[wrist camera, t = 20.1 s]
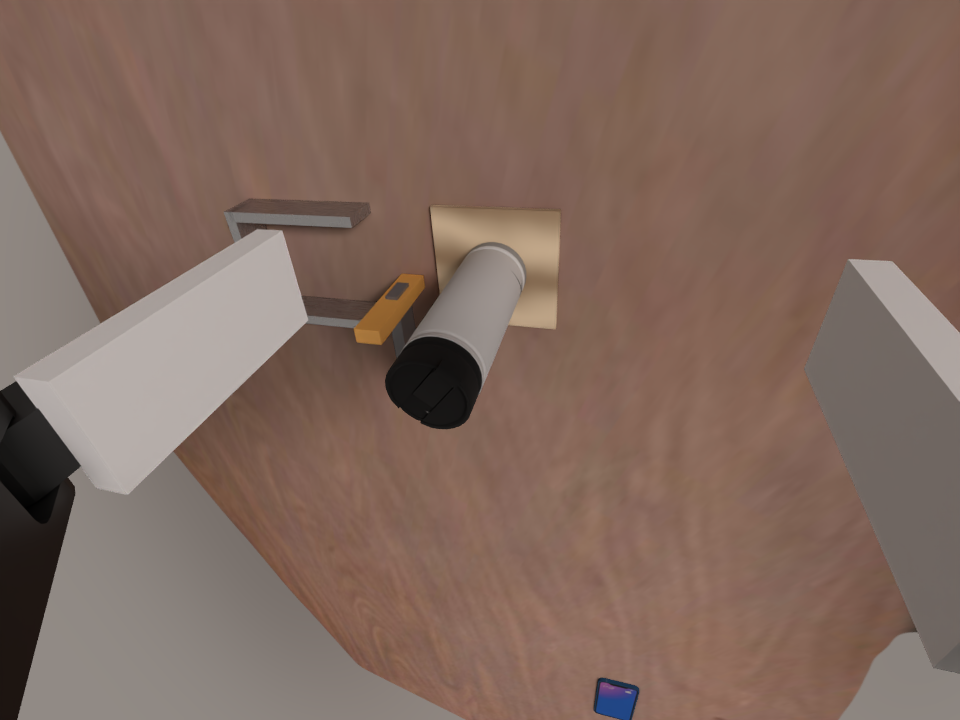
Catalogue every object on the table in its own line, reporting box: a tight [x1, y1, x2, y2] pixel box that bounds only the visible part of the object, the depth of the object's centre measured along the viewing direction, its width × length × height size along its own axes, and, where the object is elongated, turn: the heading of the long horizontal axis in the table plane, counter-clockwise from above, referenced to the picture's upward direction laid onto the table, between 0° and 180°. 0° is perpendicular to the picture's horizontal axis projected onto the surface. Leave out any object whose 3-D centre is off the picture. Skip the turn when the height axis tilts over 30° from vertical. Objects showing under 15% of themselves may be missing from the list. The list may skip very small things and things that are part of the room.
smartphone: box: [594, 678, 639, 720], centre depth 94 cm, size 7×1×15 cm
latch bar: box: [354, 274, 425, 358], centre depth 51 cm, size 13×2×11 cm, turn 3°
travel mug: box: [385, 242, 527, 429], centre depth 40 cm, size 6×7×20 cm
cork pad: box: [430, 205, 561, 329], centre depth 48 cm, size 12×12×1 cm
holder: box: [224, 199, 377, 328], centre depth 52 cm, size 12×14×4 cm
